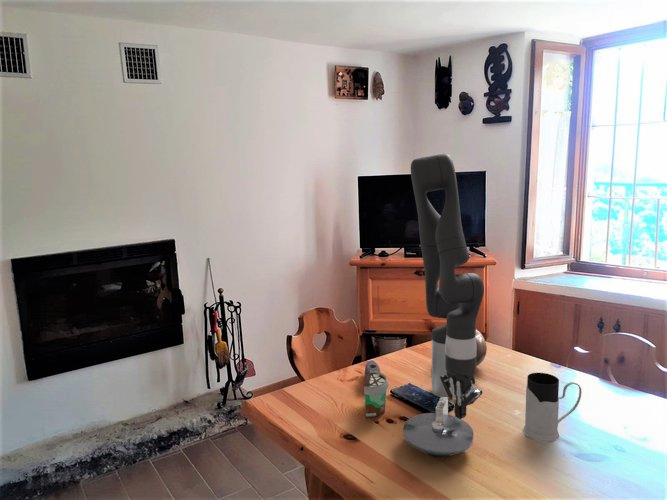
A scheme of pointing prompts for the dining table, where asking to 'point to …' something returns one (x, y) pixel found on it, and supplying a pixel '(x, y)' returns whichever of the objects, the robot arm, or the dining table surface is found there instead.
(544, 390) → the glass holder
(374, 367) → the perforated stone tool
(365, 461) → the dining table surface
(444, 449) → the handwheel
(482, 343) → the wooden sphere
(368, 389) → the food container
